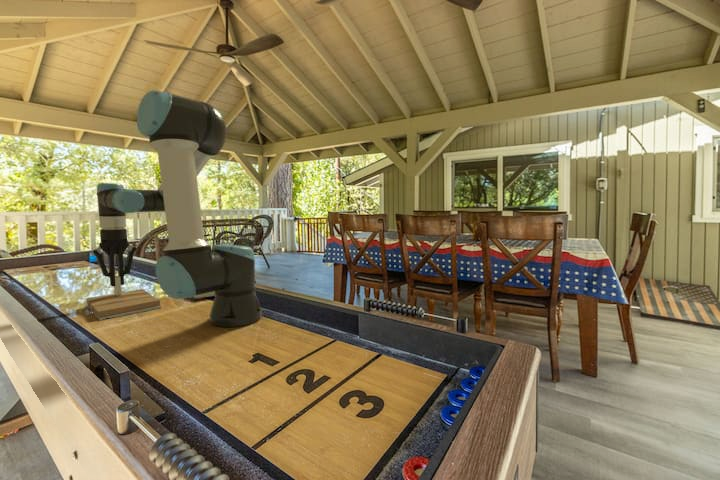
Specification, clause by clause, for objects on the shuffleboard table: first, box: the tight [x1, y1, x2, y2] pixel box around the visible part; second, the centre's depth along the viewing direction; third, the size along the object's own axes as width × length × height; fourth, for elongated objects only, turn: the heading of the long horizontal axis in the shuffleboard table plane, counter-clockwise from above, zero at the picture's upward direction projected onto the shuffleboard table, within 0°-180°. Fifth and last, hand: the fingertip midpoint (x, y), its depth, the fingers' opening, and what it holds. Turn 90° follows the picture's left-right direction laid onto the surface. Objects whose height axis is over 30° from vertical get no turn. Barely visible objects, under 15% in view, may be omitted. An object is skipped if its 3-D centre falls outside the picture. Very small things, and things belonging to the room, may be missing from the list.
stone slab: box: [187, 291, 215, 302], centre depth 136 cm, size 10×3×30 cm
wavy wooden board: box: [85, 288, 153, 312], centre depth 119 cm, size 11×17×2 cm, turn 138°
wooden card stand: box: [85, 295, 162, 321], centre depth 116 cm, size 21×17×3 cm
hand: (118, 294), depth 120 cm, fingers closed
